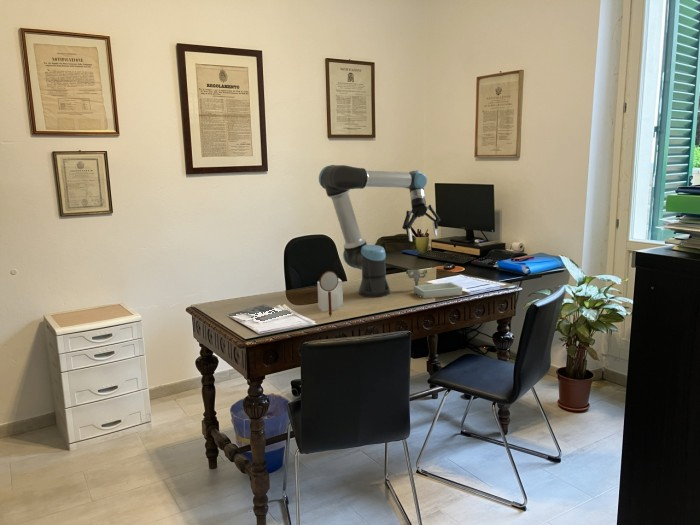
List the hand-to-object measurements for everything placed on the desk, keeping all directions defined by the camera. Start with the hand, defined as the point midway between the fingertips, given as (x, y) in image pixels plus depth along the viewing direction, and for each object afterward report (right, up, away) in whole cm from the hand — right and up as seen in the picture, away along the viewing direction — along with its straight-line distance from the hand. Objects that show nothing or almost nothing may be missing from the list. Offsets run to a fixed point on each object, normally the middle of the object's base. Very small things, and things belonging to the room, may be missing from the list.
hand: (423, 238), depth 286 cm
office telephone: (-77, -36, -41) cm, 95 cm away
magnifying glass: (-46, -36, -48) cm, 76 cm away
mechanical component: (-4, -26, -6) cm, 27 cm away
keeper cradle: (+5, -28, -16) cm, 32 cm away
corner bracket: (-46, -33, -33) cm, 66 cm away
